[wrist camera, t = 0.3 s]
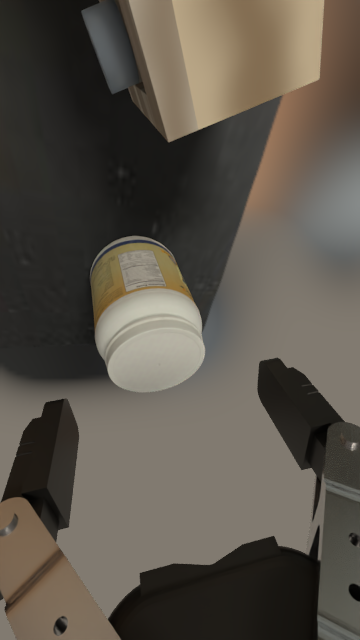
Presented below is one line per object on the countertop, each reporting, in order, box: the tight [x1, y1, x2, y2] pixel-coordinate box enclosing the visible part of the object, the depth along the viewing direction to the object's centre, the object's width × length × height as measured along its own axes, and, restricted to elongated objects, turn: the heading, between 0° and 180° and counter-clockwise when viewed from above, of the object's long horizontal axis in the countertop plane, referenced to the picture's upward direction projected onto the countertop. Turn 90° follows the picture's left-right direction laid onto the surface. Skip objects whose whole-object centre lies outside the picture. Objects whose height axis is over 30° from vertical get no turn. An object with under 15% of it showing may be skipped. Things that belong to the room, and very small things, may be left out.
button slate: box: [81, 0, 139, 94], centre depth 19 cm, size 2×4×4 cm, turn 16°
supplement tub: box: [90, 236, 205, 392], centre depth 36 cm, size 12×12×17 cm
